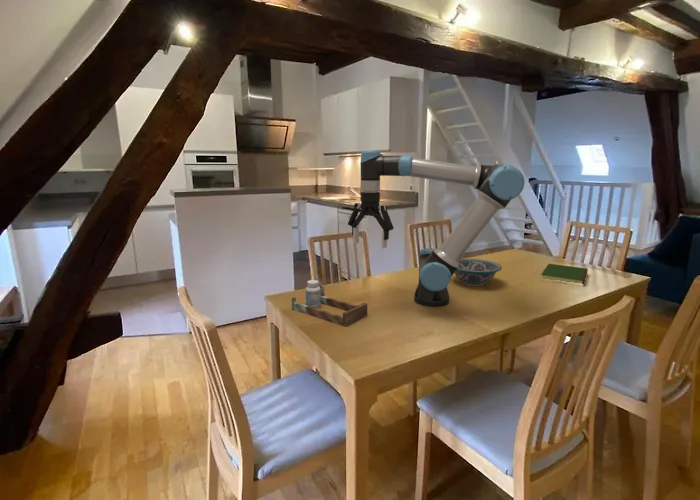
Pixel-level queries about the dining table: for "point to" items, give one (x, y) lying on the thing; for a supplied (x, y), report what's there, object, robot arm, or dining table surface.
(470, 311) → the dining table surface
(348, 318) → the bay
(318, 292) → the pill bottle
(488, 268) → the bowl
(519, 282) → the dining table surface
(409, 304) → the dining table surface
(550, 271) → the hardcover book
